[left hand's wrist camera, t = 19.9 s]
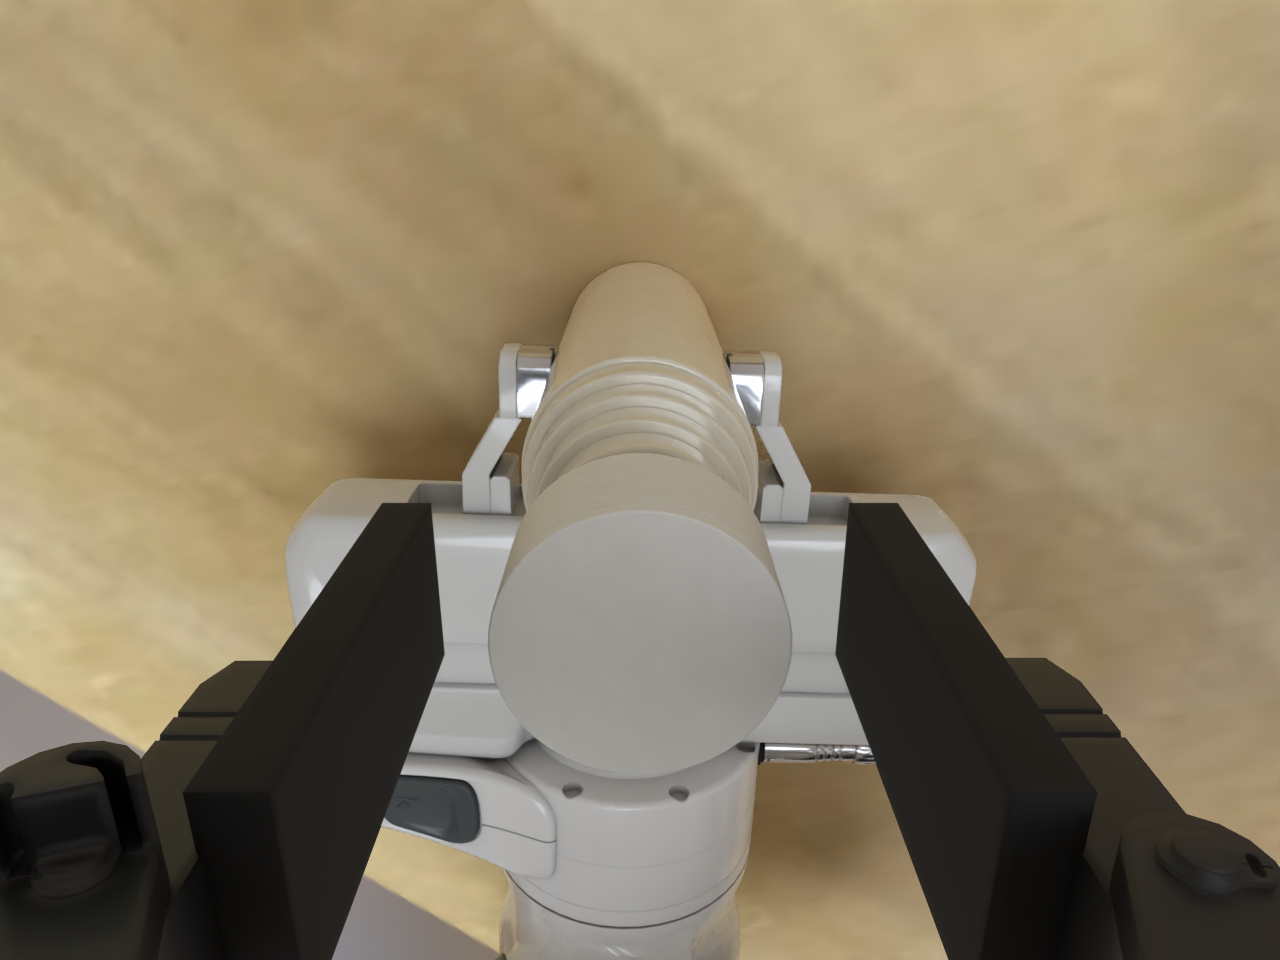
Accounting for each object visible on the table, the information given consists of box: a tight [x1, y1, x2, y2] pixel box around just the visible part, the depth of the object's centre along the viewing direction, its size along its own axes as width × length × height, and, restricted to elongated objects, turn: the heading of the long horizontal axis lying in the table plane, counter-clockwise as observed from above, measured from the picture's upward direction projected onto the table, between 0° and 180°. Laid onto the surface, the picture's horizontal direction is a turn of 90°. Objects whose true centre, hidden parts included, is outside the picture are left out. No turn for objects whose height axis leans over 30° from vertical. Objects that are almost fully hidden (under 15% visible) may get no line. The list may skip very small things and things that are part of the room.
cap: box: [488, 453, 792, 774], centre depth 14 cm, size 4×4×2 cm
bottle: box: [521, 262, 759, 512], centre depth 22 cm, size 5×5×20 cm
